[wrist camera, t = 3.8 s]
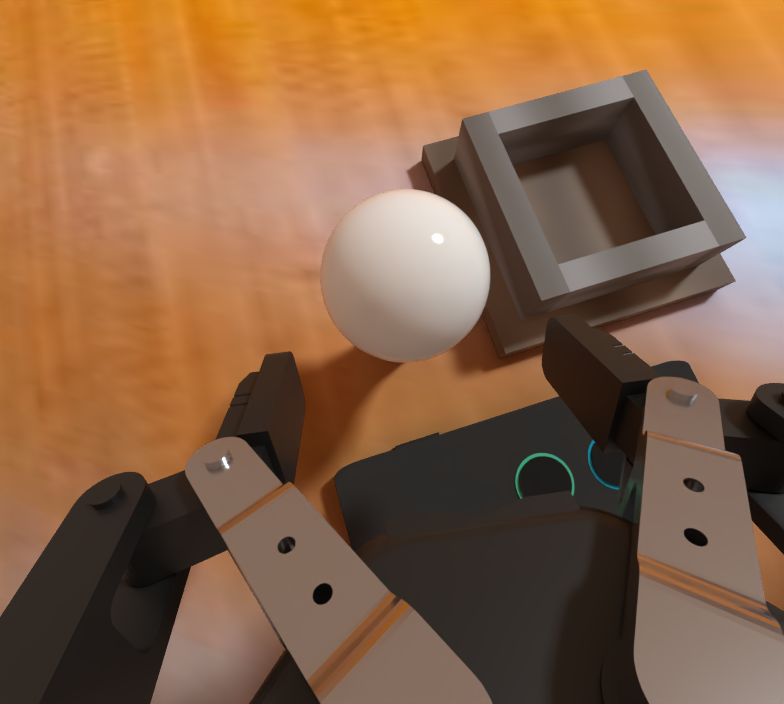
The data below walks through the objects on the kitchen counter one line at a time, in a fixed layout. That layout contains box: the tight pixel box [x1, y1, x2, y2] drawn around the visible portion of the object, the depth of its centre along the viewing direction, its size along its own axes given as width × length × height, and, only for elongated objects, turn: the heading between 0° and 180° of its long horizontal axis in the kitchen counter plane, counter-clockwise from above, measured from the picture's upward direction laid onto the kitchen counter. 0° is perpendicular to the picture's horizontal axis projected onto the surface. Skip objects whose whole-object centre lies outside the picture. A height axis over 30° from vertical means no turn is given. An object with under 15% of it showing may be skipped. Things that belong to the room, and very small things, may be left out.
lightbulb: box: [320, 189, 490, 363], centre depth 17 cm, size 6×6×11 cm
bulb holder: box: [422, 70, 746, 358], centre depth 22 cm, size 14×14×4 cm
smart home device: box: [334, 361, 698, 552], centre depth 20 cm, size 8×2×20 cm
